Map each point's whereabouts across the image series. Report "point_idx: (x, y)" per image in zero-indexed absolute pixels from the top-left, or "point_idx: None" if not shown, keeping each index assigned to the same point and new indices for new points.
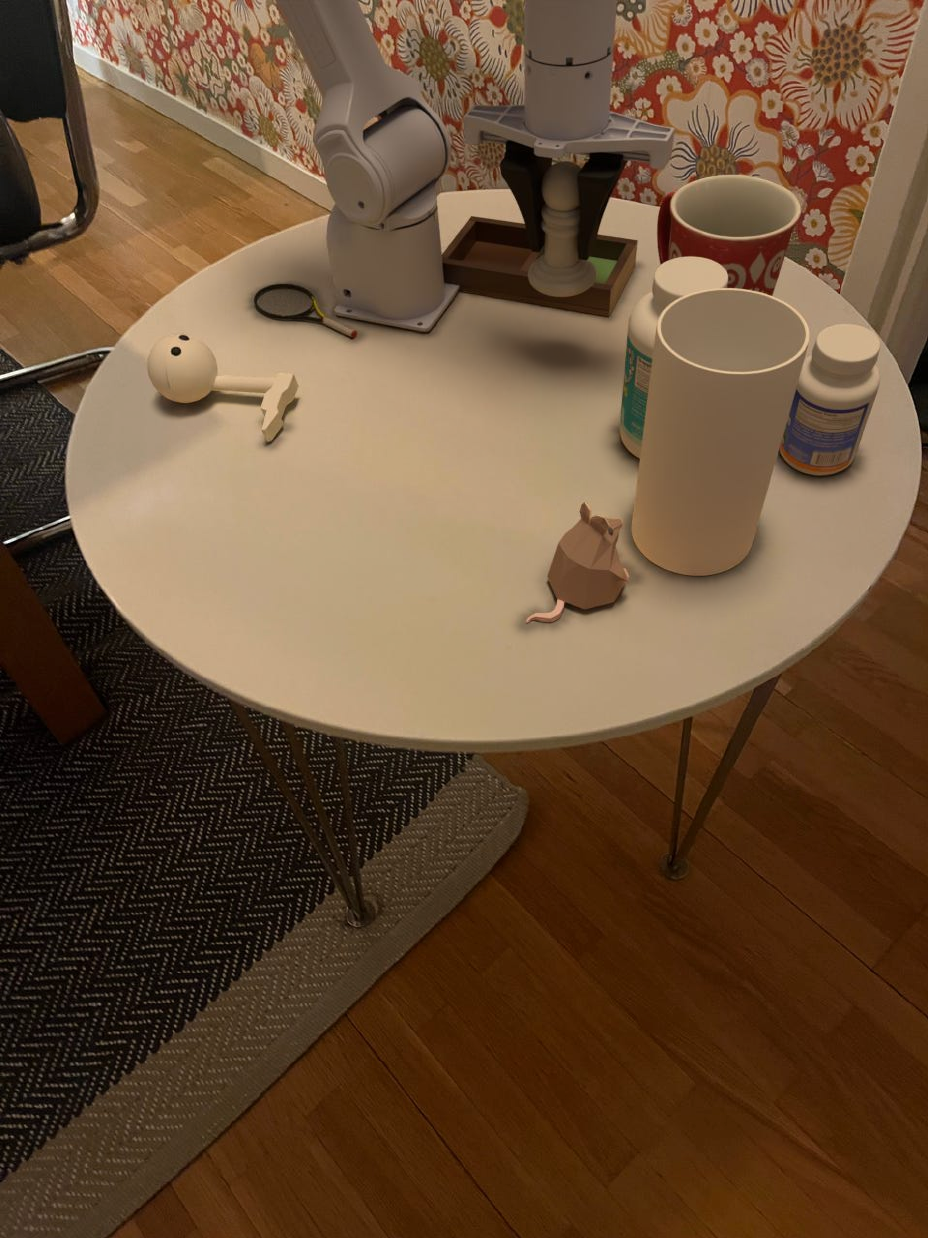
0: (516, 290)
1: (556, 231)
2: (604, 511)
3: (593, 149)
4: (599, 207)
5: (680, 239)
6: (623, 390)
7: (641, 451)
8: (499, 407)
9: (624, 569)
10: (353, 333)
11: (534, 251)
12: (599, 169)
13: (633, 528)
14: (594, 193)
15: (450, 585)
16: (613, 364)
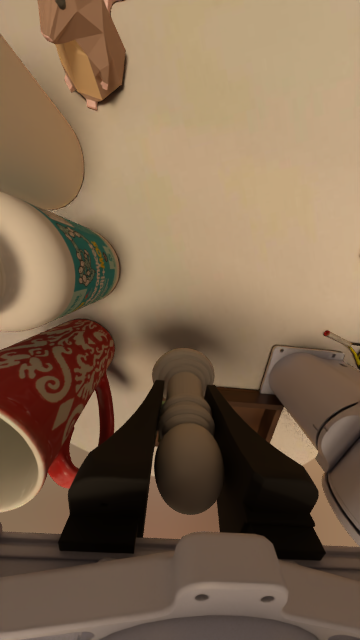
0: (221, 392)
1: (189, 397)
2: (107, 169)
3: (97, 575)
4: (123, 425)
5: (25, 398)
6: (101, 253)
7: (7, 57)
8: (210, 276)
9: (70, 87)
10: (327, 333)
11: (212, 385)
12: (107, 501)
13: (73, 134)
14: (122, 444)
15: (205, 30)
16: (143, 336)
